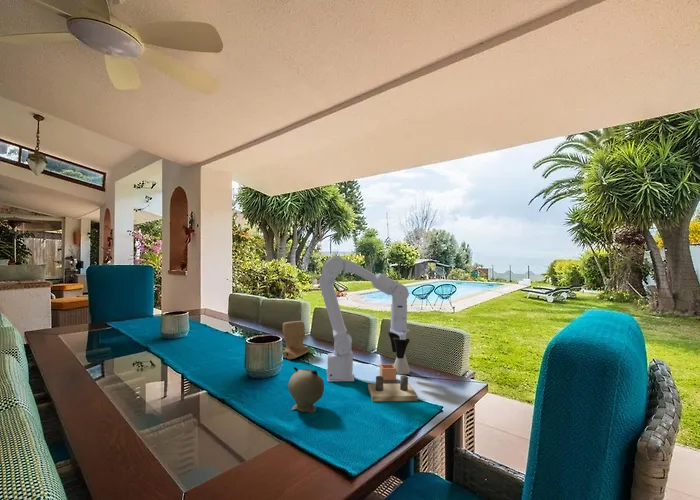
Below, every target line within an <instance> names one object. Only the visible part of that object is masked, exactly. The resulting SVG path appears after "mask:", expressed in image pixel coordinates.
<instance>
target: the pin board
mask: <svg viewBox="0 0 700 500" xmlns="http://www.w3.org/2000/svg"><path fill="white" fill-rule="evenodd" d="M399 380H400V382H399V383H383V377H382V376H380V375H377V376H375V383H368V384H367V390H368V392H369V396H370V398H371V401H372V402H408V401H409V402H412V401H414V402H415V401H417V402H418V394H417V393H416V391H415V389H414V388H413V387H412V385H411V384H410V383H409V377H408V376H407V375H401V376H400V378H399Z"/></svg>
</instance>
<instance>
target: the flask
mask: <svg viewBox="0 0 700 500" xmlns="http://www.w3.org/2000/svg"><path fill="white" fill-rule="evenodd" d="M393 364H394V366H395V367H396V375H397V374H398V375H408V374H410V373H411V369H410V366H409V363H408V359H407V356H406V353H405V354H404V358H397V356H396V358H395V360H394V363H393Z"/></svg>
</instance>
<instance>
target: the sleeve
mask: <svg viewBox="0 0 700 500" xmlns="http://www.w3.org/2000/svg"><path fill="white" fill-rule="evenodd" d="M379 376H382V377H383V384H397V373H396V367H395V366H394V363H381V364H379Z"/></svg>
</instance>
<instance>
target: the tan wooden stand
mask: <svg viewBox="0 0 700 500" xmlns="http://www.w3.org/2000/svg"><path fill="white" fill-rule="evenodd" d="M305 327H306V326H305V321H303V320H293V321H285V322H283V323H282V334H283V338H284V341H285V345H286V346H285V349H284V350H283V353H284V357H283V358H284V359H286V358H287V360H293V359H294V360H295V359H296V358H298V357H301V356H303V355H305V354H306V353H307V354H308V353H309V352H310V351H311V348H310V347H306V346H304V339H305V333H306V329H305Z"/></svg>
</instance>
